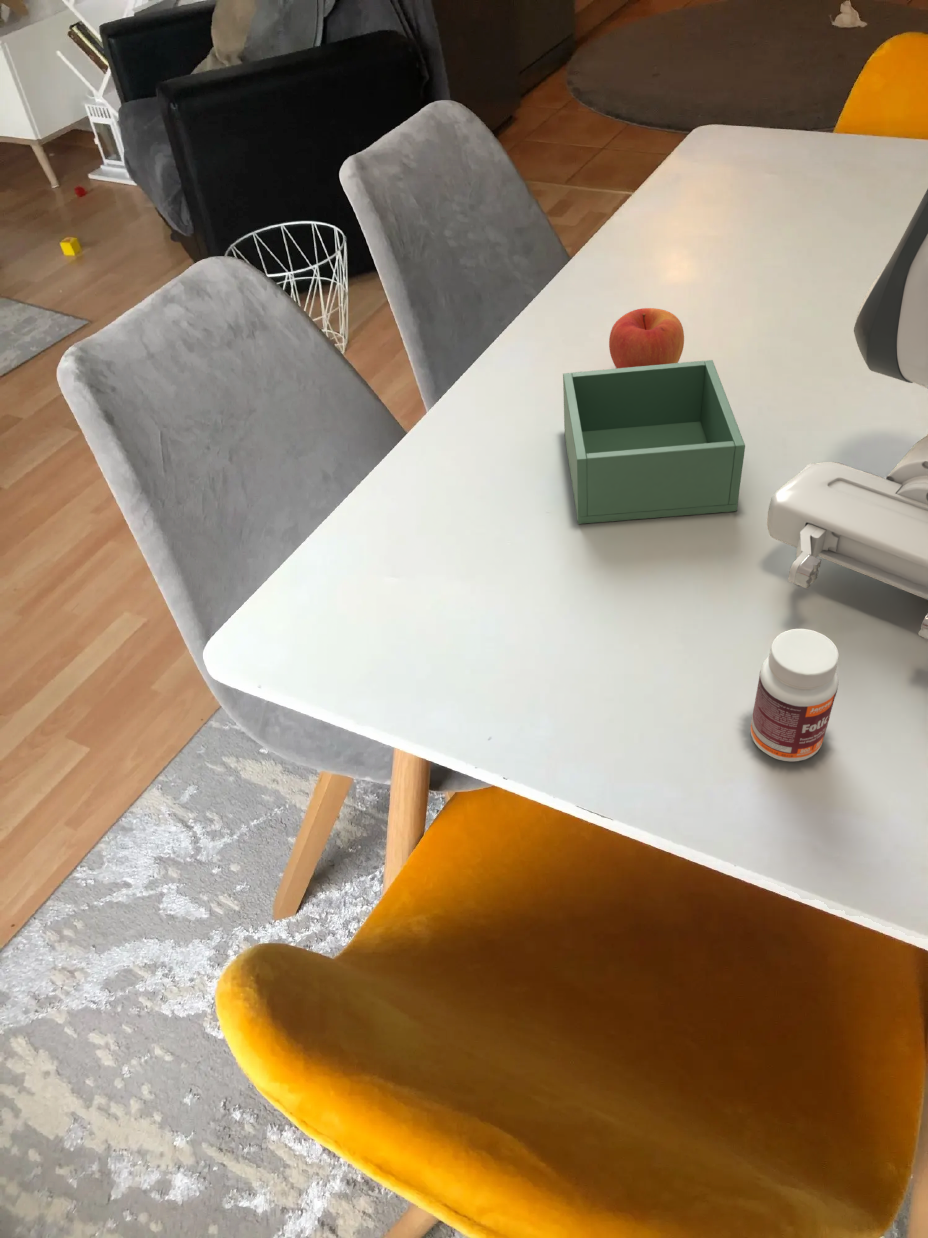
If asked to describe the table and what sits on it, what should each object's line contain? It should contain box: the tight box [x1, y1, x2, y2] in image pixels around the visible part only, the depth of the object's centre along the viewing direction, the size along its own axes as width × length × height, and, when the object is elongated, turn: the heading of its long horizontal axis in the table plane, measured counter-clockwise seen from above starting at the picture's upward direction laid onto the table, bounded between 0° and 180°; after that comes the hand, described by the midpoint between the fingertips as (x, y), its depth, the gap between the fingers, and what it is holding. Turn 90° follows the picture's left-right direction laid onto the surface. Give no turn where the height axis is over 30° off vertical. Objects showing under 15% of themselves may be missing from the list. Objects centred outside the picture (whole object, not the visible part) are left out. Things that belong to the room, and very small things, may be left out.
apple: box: [608, 307, 685, 369], centre depth 96 cm, size 7×7×8 cm
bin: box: [562, 359, 746, 525], centre depth 85 cm, size 14×14×7 cm
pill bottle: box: [749, 628, 840, 762], centre depth 62 cm, size 5×5×8 cm
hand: (862, 604), depth 66 cm, fingers open, 8 cm apart
